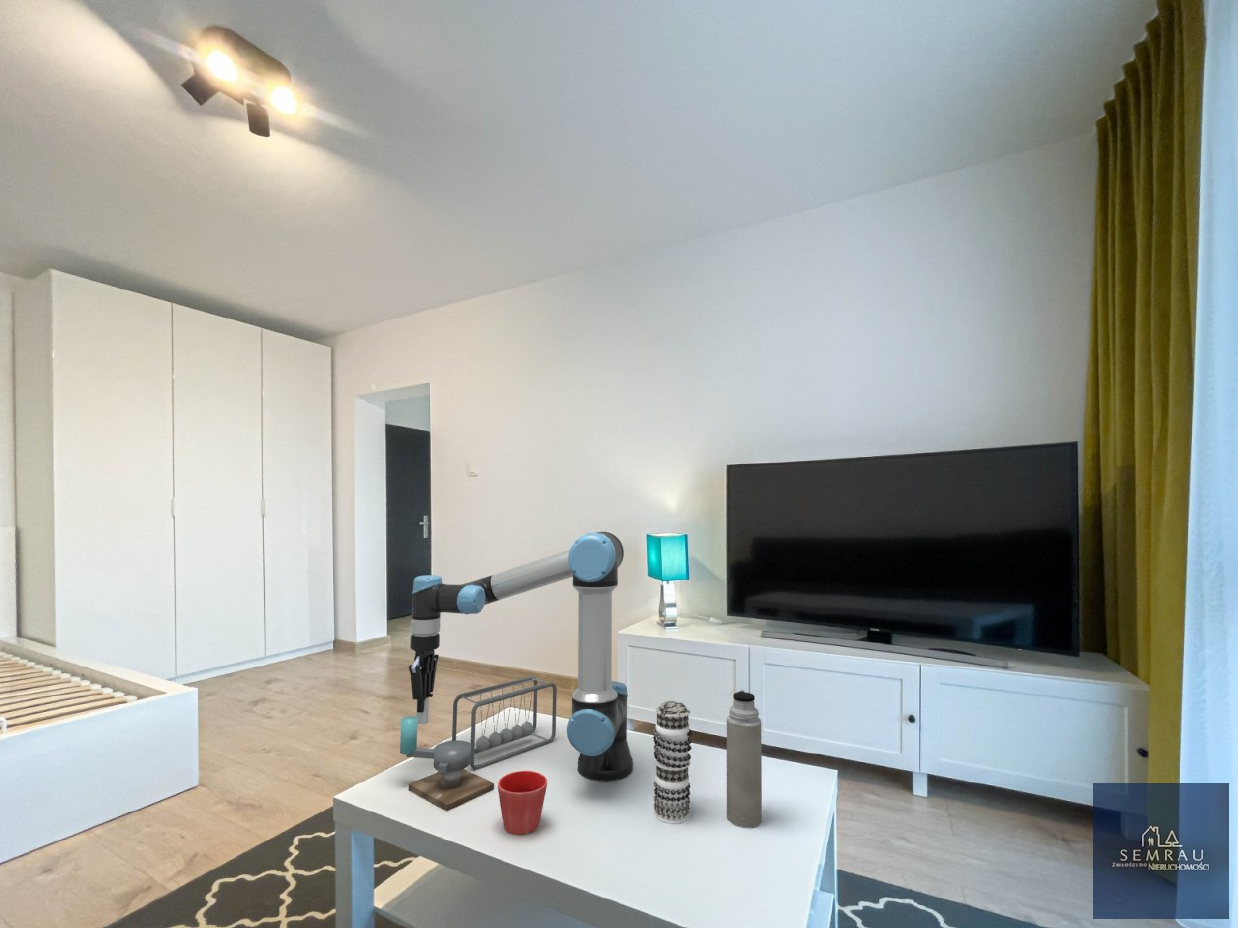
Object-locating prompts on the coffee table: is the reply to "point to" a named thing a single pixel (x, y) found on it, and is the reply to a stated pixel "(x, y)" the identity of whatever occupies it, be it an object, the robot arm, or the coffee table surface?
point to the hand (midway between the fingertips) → (422, 723)
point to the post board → (451, 788)
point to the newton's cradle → (506, 733)
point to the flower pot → (522, 801)
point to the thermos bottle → (744, 762)
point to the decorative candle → (672, 763)
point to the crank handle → (444, 754)
